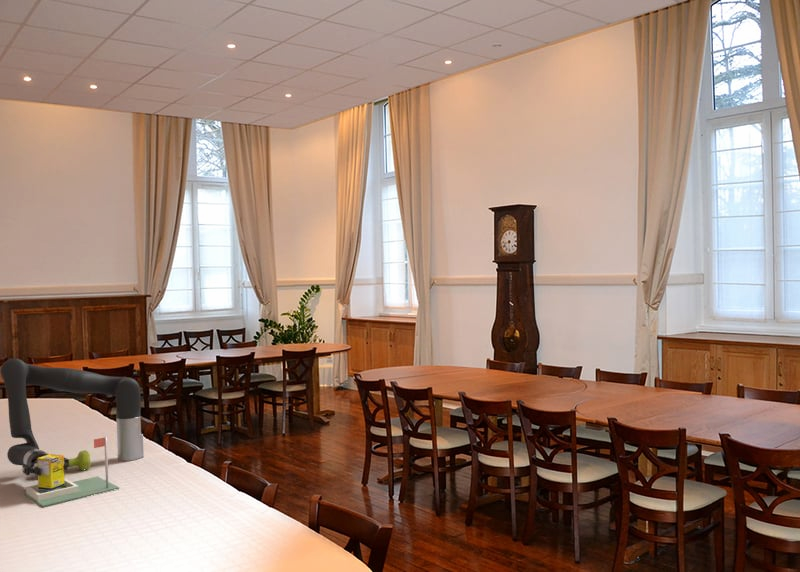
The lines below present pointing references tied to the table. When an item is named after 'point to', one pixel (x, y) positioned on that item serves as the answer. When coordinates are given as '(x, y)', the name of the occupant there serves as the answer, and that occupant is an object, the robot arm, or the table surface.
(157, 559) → the table surface
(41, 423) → the table surface
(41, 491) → the cup
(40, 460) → the supplement box
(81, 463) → the dumbbell
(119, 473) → the table surface
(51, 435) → the table surface
